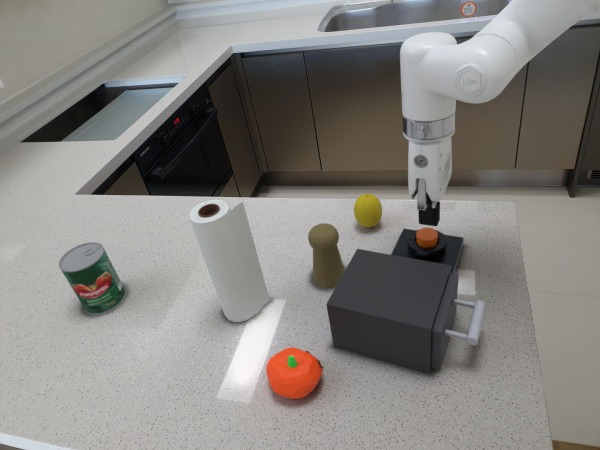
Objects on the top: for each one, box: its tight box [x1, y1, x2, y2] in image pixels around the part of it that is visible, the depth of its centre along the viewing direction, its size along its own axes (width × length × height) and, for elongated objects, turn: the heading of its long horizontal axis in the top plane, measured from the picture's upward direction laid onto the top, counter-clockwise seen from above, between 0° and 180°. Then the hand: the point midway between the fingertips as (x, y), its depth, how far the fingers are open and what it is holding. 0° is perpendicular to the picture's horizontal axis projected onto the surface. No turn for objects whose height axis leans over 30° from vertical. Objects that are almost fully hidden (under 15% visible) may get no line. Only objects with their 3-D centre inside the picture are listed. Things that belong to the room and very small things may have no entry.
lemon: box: [353, 192, 383, 228], centre depth 91 cm, size 6×6×8 cm
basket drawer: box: [431, 273, 487, 371], centre depth 67 cm, size 18×11×8 cm, turn 64°
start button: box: [416, 227, 438, 248], centre depth 81 cm, size 4×4×2 cm
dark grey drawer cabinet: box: [326, 248, 451, 375], centre depth 69 cm, size 15×13×10 cm
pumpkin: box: [265, 346, 324, 400], centre depth 64 cm, size 7×8×6 cm
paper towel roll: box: [188, 199, 271, 323], centre depth 73 cm, size 7×6×21 cm
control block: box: [390, 228, 464, 274], centre depth 82 cm, size 11×9×4 cm
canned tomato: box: [58, 241, 127, 316], centre depth 84 cm, size 8×8×11 cm
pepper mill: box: [307, 223, 346, 289], centre depth 80 cm, size 6×6×11 cm
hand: (429, 222), depth 79 cm, fingers closed
